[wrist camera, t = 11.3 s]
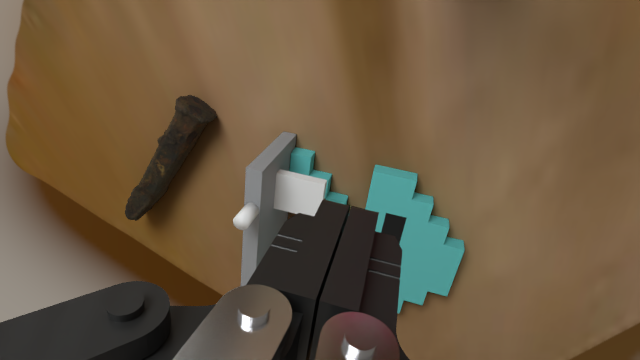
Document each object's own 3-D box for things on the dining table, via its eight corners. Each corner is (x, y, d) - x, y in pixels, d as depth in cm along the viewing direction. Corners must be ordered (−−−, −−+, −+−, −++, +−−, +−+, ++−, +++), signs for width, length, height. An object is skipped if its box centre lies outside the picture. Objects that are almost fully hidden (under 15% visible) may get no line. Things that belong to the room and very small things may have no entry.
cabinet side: (340, 143, 40) (309, 197, 30) (314, 296, 50) (285, 378, 40) (283, 131, 41) (233, 179, 30) (269, 283, 51) (228, 360, 41)
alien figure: (282, 281, 51) (431, 323, 48) (276, 292, 50) (431, 336, 46) (297, 145, 42) (482, 186, 39) (291, 152, 40) (485, 196, 37)
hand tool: (194, 88, 42) (169, 98, 38) (222, 112, 42) (201, 125, 38) (130, 194, 51) (105, 211, 47) (154, 213, 52) (131, 232, 47)
